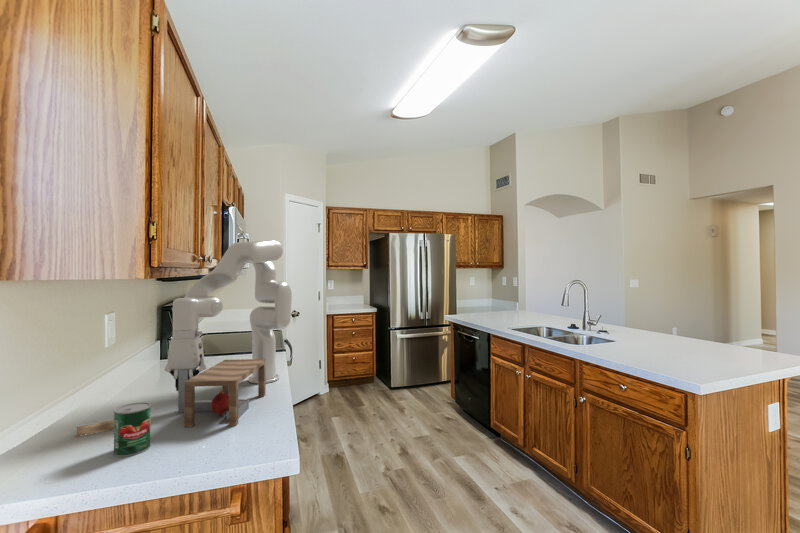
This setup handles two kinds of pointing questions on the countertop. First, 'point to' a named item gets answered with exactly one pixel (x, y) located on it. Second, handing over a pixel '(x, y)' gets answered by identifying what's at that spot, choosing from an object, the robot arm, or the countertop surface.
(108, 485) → the countertop surface
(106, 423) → the wooden bar
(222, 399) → the onion
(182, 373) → the grey angled piece
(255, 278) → the robot arm
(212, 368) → the shelf
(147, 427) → the canned tomato
